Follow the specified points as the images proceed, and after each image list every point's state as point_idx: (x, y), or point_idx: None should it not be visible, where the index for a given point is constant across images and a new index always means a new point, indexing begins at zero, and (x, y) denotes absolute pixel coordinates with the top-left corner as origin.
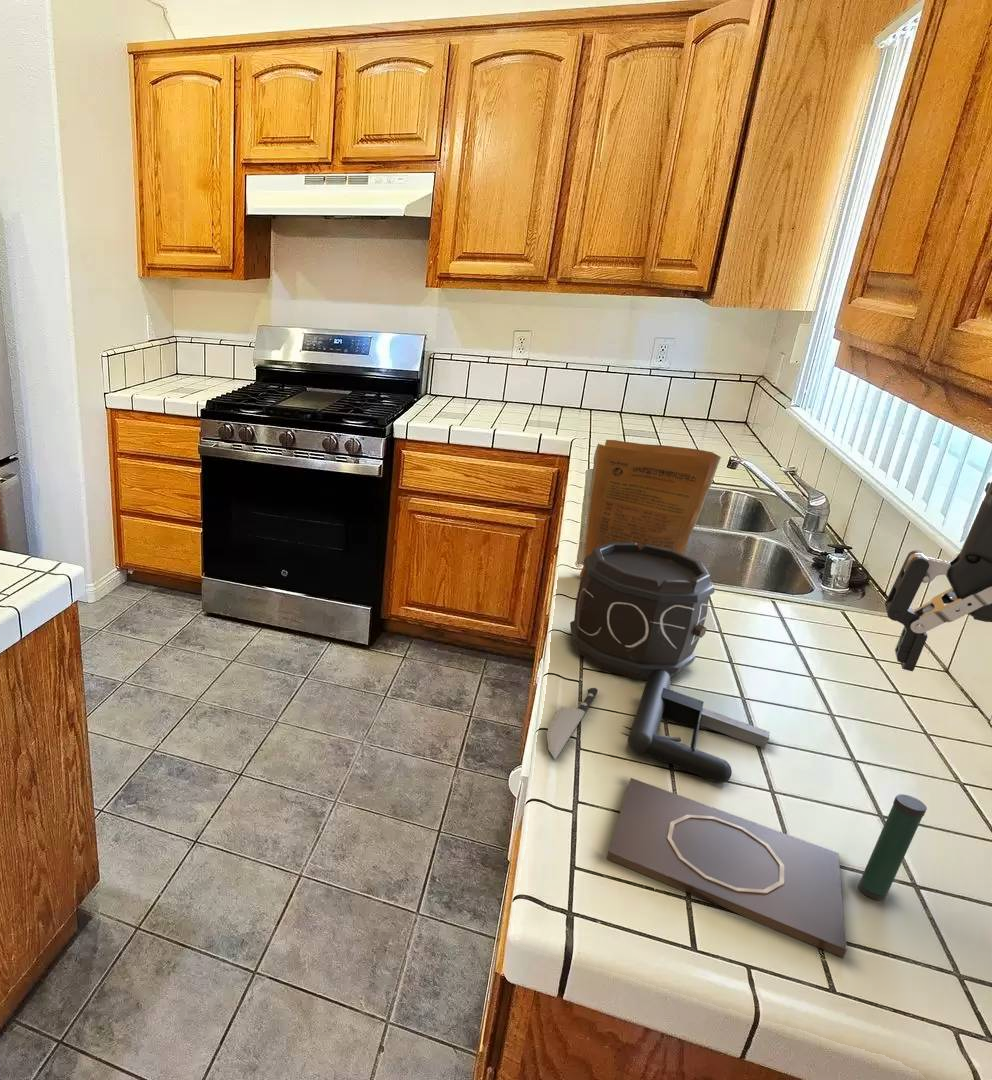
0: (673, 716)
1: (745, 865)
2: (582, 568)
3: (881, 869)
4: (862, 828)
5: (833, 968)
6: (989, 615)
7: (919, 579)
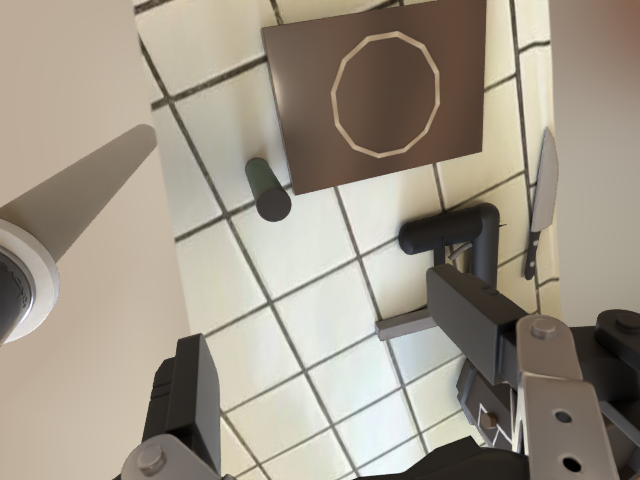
0: None
1: (366, 93)
2: None
3: (262, 165)
4: (280, 268)
5: (265, 2)
6: (454, 477)
7: None
